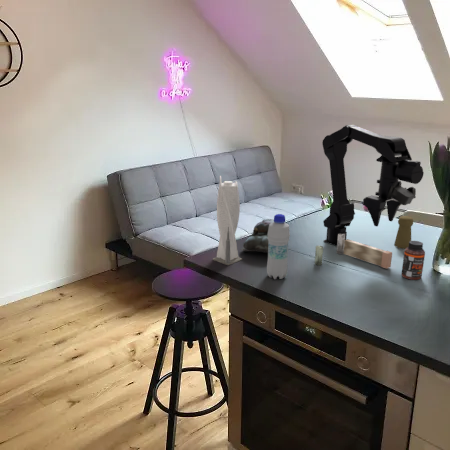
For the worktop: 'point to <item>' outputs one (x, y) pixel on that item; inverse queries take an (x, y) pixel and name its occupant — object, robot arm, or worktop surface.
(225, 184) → the skyscraper
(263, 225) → the grey lumpy mass
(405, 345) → the worktop surface
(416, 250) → the supplement bottle
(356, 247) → the light brown wooden plank
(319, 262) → the gate posts
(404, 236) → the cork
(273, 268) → the bottle
